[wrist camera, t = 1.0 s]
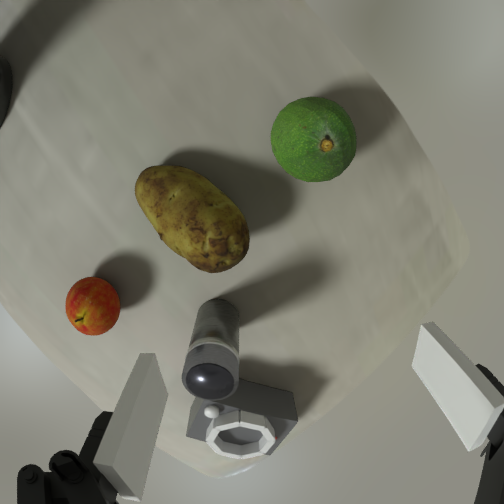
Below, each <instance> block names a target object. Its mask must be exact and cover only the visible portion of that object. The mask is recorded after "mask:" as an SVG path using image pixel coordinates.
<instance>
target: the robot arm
mask: <svg viewBox="0 0 504 504" xmlns="http://www.w3.org/2000/svg"><path fill="white" fill-rule="evenodd" d="M11 90H12V72H11V68H10V65H9V63H8V61H7V60H6V59H5V58H3V57H1V56H0V126H1V124H2V122H3V120H4V117H5V115H6V112H7V109H8V105H9V101H10V97H11ZM412 367H413V369H414V370H415V372H416V373H417V375H418V376H419V377H420V379H421V380H422V382H423V383H424V385H425V386H426V388H427V389H428V390H429V392H430V393H431V395H432V396H433V397H434V399H435V401H436V402H437V404H438V405H439V407H440V408H441V410H442V411H443V413H444V414H445V415H446V417H447V419H448V420H449V422H450V423H451V425H452V426H453V428H454V429H455V431H456V432H457V434H458V435H459V437H460V439H461V440H462V442H463V444H464V445H465V447H466V448H467V450H468V451H471V450H473V449H475V448H477V447H479V446H481V445H482V443H483V442H484V440H485V438H486V437H488V439H489V440H490V441H489V443H488V444H487V446H486V447H485V449H484V450H483V451H482V453H481V455H480V456H481V457H482V456H483V455H484V453H485V452H486V455H485V461H484V466H483V470H482V475H481V480H480V484H479V488H478V492H477V495H476V499H475V502H474V504H504V386H503V385H502V384H501V383H500V382H498V380H497V378H496V377H494V376H493V374H492V373H491V372H490V371H489V370H488V369H487V368H486V367H484V366H482V365H480V364H477V365H474V364H473V362H472V361H471V360H469V358H468V357H467V356H466V355H465V354H464V353H463V352H462V351H461V350H460V349H459V348H458V347H457V346H456V345H455V344H454V342H453V341H452V340H451V339H450V338H449V337H448V336H447V335H446V334H445V333H444V332H443V331H441V329H440V328H439V327H438V326H437V325H436V324H435V323H434V322H429V323H425V324H421V328H420V333H419V337H418V342H417V346H416V351H415V355H414V359H413V363H412ZM167 397H168V393H167V390H166V387H165V384H164V381H163V378H162V375H161V372H160V368H159V365H158V362H157V359H156V355H155V353H140V355H139V357H138V359H137V361H136V364H135V366H134V368H133V370H132V372H131V374H130V377H129V379H128V381H127V383H126V385H125V388H124V390H123V392H122V394H121V396H120V399H119V401H118V403H117V406H116V408H115V410H114V412H107V411H103V412H102V413H101V414H100V415H99V416H98V417H97V418H96V419H95V421H94V423H93V425H92V429H91V430H90V432H89V434H88V437H87V438H86V441H85V443H84V445H83V447H82V449H81V452H80V454H79V456H78V455H77V454H76V453H74V452H73V451H69V450H63V451H59V452H57V453H56V454H54V456H52V458H51V459H50V462H49V469H50V470H51V471H52V472H43V470H42V469H41V468H40V467H38V466H37V465H33V464H29V465H26V466H24V467H23V468H21V470H20V471H19V472H18V477H17V504H119V503H118V502H117V501H116V496H117V493H119V495H120V496H121V497H122V498H123V499H128V500H133V501H140V502H141V500H142V495H143V491H144V487H145V483H146V478H147V474H148V470H149V466H150V462H151V458H152V453H153V450H154V446H155V442H156V438H157V434H158V431H159V427H160V423H161V419H162V416H163V412H164V408H165V405H166V401H167Z"/></svg>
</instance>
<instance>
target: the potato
mask: <svg viewBox="0 0 504 504" xmlns="http://www.w3.org/2000/svg"><path fill="white" fill-rule="evenodd" d="M135 195H136V199H137V201H138V203H139V205H140V207H141V209H142V210H143V212H144V214H145V215H146V217H147V218H148V219H149V221H150V222H151V224H152V225H153V227H154V228H155V230H156V231H157V233H158V234H159V236H160V239H161V240H163V241H164V242H165V244H166V245H167V246H168V247H169V248H170V249H172V250H173V251H174V252H176V253H177V254H178V255H180V256H182V257H184V258H186V259H187V260H188V261H189V262H190V263H191V264H192V265H193V266H195V267H196V268H198V269H200V270H202V271H206V272H208V273H218V272H223V271H226V270H228V269H231V268H232V267H234V266H235V265H237V264H238V263H239V262H240V261H241V260H242V259H243V258H244V257H245V255H246V254H247V251H248V249H249V242H250V238H249V230H248V226H247V223H246V220H245V218H244V216H243V214H242V213H241V211H240V210H239V209H238V207H237V206H236V205H235V204H234V203H233V202H232V201H231V200H230V198H229V197H227V196H226V195H225V194H224V193H223V192H222V191H221V190H219V189H218V188H217V187H215V186H214V185H213V184H212V183H211V182H210V181H209V180H208V179H206V178H205V177H203V176H202V175H200V174H198V173H196V172H194V171H192V170H190V169H187V168H184V167H181V166H173V165H172V166H151V167H149V168H146V169H145V170H144V171H142V172H141V174H140V175H139V177H138V179H137V181H136V184H135Z"/></svg>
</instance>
